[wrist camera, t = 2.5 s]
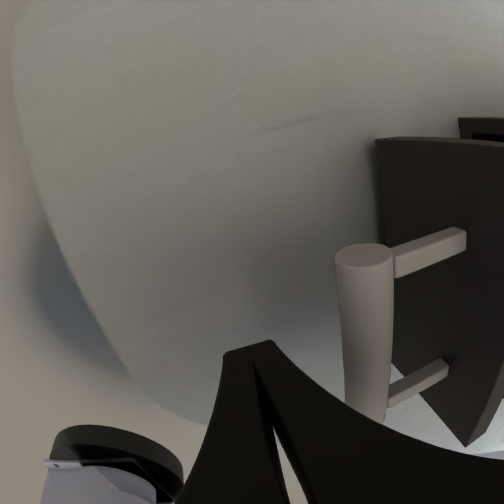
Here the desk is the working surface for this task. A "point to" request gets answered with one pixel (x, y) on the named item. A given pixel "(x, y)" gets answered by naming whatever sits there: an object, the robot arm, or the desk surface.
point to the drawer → (429, 285)
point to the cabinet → (482, 129)
